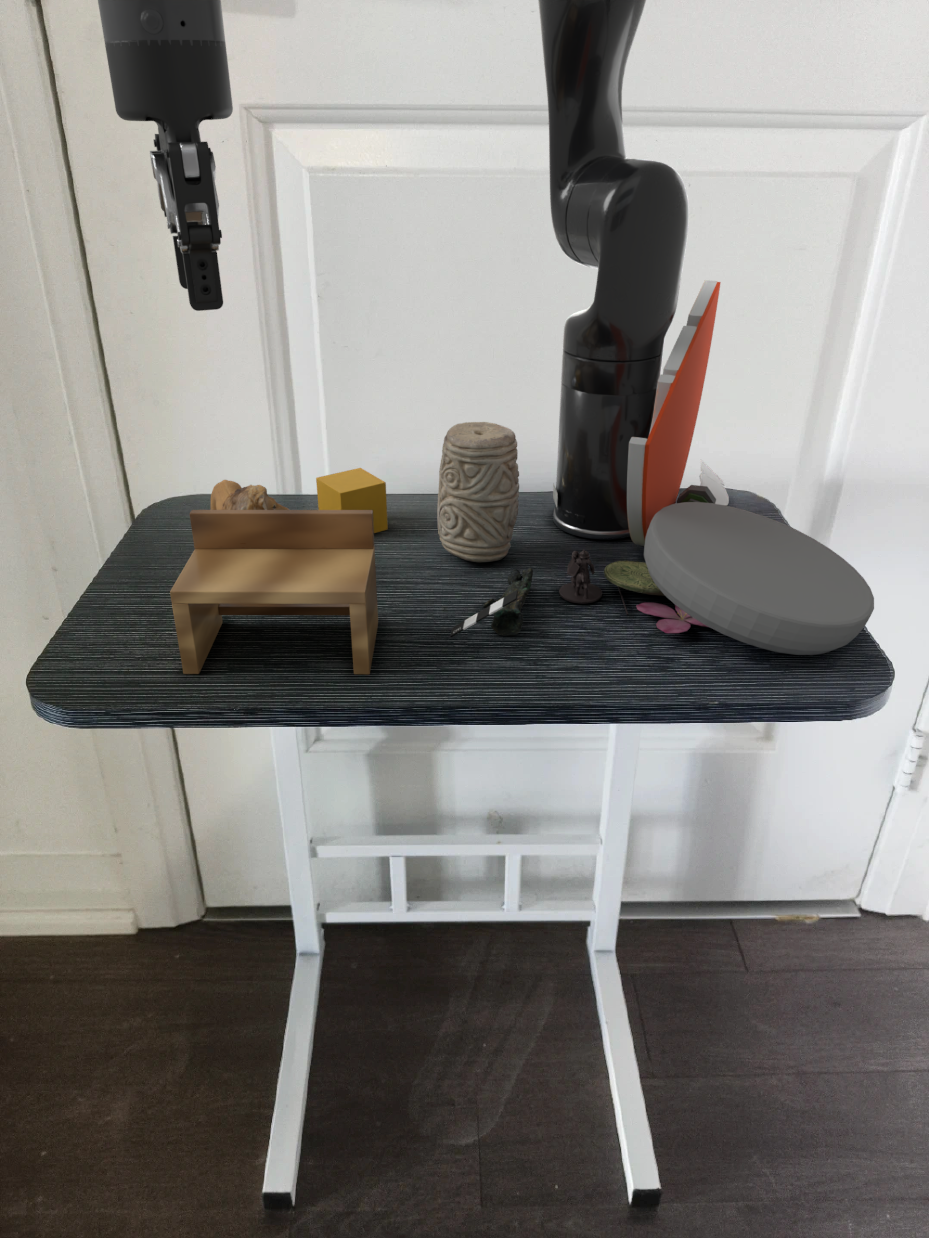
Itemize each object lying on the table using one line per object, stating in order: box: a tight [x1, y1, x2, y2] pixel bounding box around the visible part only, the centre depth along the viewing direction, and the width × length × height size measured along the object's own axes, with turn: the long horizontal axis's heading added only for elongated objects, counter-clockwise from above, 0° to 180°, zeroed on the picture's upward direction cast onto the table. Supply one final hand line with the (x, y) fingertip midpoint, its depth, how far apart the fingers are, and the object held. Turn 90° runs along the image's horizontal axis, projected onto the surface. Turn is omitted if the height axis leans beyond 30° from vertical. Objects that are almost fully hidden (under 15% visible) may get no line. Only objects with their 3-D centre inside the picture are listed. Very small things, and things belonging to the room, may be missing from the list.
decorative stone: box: [643, 502, 875, 656], centre depth 78 cm, size 18×18×5 cm
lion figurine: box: [209, 479, 290, 510], centre depth 88 cm, size 15×5×9 cm, turn 33°
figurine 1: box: [449, 567, 534, 638], centre depth 79 cm, size 6×4×12 cm
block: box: [315, 467, 389, 534], centre depth 95 cm, size 5×5×5 cm
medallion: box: [603, 559, 666, 597], centre depth 84 cm, size 8×8×1 cm
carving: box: [436, 421, 520, 563], centre depth 88 cm, size 6×8×12 cm
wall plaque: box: [627, 279, 721, 547], centre depth 91 cm, size 19×2×30 cm
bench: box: [169, 509, 379, 675], centre depth 73 cm, size 14×8×10 cm, turn 90°
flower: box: [635, 602, 709, 634], centre depth 79 cm, size 8×8×1 cm
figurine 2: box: [558, 548, 629, 616], centre depth 83 cm, size 5×8×4 cm
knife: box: [675, 459, 730, 506], centre depth 98 cm, size 22×4×5 cm
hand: (201, 297), depth 70 cm, fingers open, 8 cm apart
